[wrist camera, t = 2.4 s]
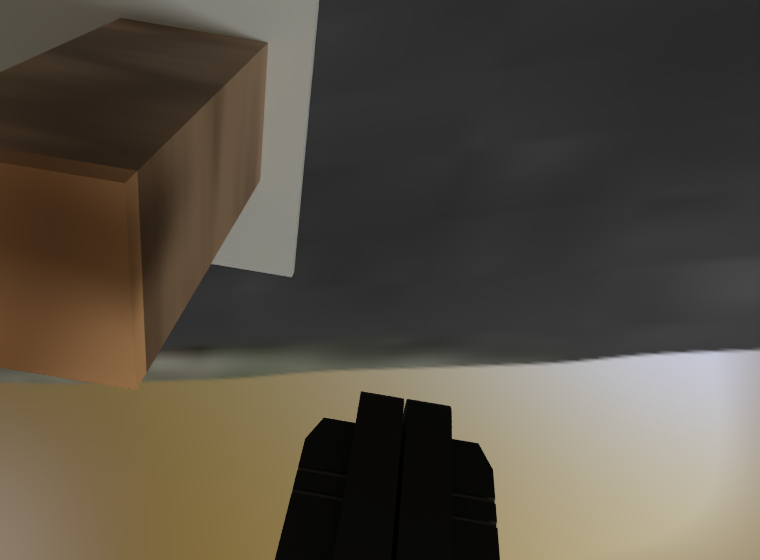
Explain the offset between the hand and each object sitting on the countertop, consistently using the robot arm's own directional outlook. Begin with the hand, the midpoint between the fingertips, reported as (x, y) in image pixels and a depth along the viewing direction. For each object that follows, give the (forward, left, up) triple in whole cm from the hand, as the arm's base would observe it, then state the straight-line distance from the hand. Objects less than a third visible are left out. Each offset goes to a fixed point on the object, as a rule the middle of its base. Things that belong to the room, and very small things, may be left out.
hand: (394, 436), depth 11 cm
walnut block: (-8, 0, -15) cm, 17 cm away
